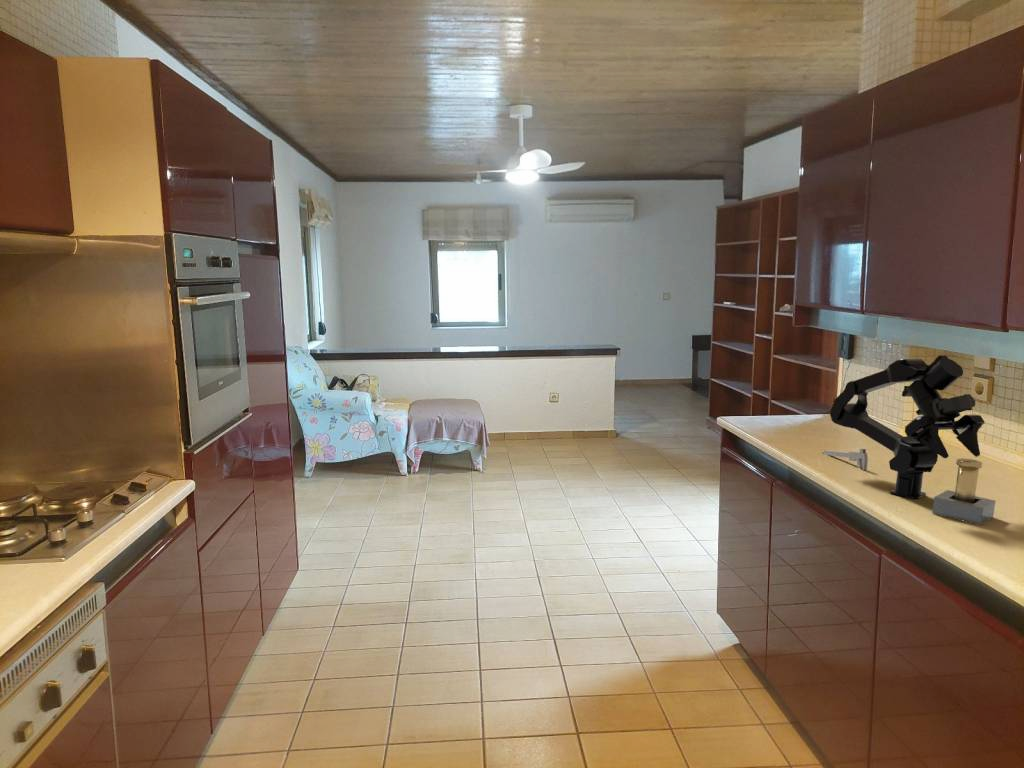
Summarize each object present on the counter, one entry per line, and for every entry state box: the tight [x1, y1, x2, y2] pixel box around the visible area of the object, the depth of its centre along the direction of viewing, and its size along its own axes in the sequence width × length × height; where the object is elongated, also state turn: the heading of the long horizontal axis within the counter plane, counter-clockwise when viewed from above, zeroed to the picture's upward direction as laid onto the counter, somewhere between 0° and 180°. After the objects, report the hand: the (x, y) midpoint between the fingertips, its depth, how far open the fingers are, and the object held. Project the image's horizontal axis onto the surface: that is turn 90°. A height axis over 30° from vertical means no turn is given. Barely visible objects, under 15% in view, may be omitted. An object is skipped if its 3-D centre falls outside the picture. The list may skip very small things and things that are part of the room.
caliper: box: [821, 448, 869, 471], centre depth 215 cm, size 20×1×6 cm, turn 10°
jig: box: [931, 489, 996, 526], centre depth 168 cm, size 9×10×4 cm
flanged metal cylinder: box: [954, 458, 983, 504], centre depth 167 cm, size 5×5×13 cm
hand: (962, 456), depth 168 cm, fingers open, 9 cm apart
